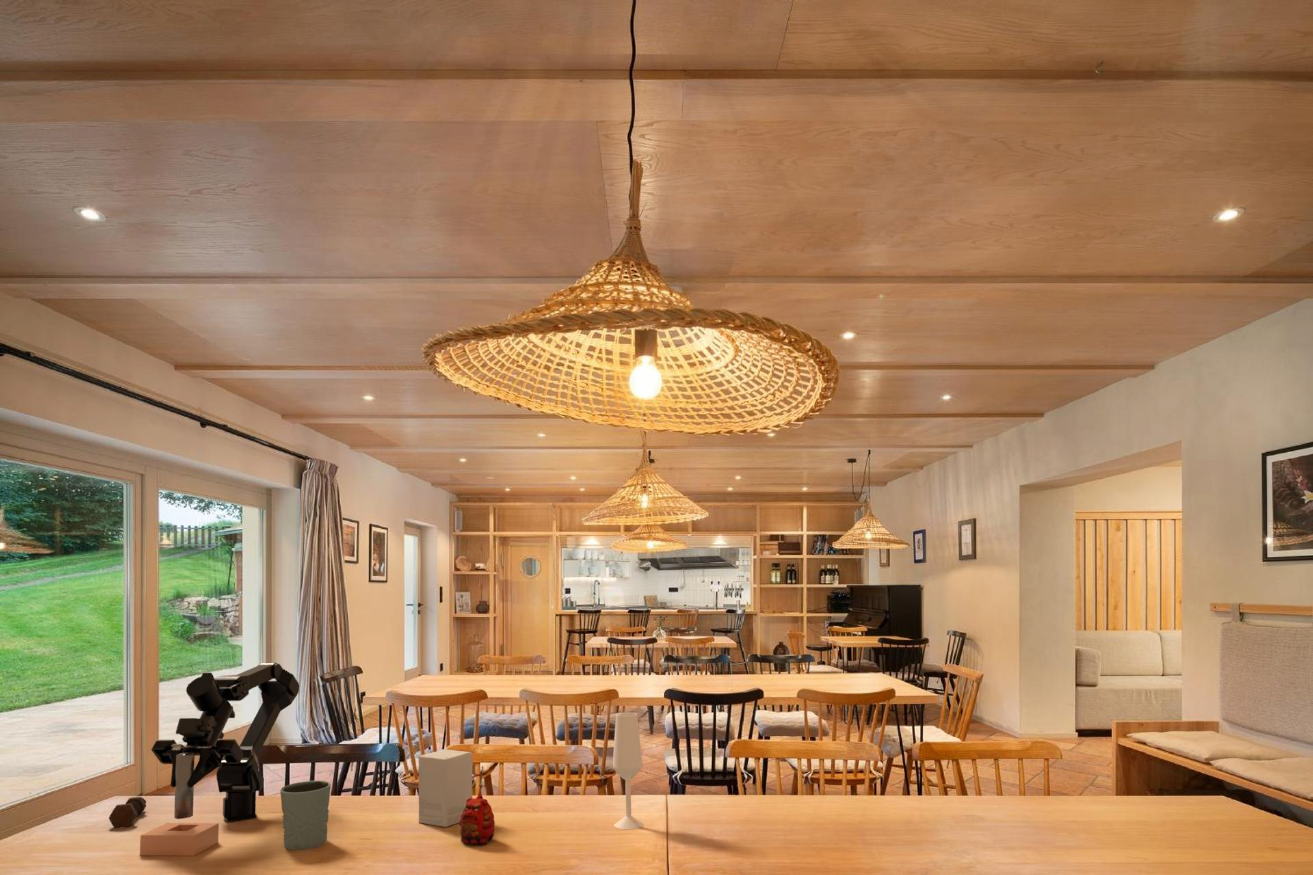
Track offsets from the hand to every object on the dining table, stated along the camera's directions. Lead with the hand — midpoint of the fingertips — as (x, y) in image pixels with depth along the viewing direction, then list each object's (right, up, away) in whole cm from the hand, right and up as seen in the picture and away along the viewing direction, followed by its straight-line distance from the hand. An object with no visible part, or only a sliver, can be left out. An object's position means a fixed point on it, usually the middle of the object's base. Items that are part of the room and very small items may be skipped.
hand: (180, 786), depth 204 cm
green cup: (+27, -13, 0) cm, 29 cm away
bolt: (-24, -17, +24) cm, 37 cm away
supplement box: (+53, -14, +15) cm, 57 cm away
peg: (0, -7, +1) cm, 7 cm away
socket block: (0, -13, -1) cm, 13 cm away
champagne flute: (+96, -12, +8) cm, 97 cm away
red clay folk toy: (+64, -11, -1) cm, 65 cm away
